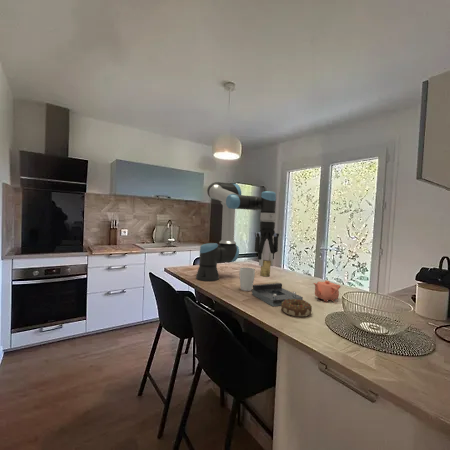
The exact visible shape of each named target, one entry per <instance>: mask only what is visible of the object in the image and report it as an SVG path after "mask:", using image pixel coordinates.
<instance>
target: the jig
mask: <svg viewBox="0 0 450 450" xmlns="http://www.w3.org/2000/svg"><path fill="white" fill-rule="evenodd" d="M251 295H252V296H253V297H255V298H257V299H259V300H261V301H262V302H264V303H266V304H268V305H269V306H271V307H273V308H274V307H281V304H282V302H283V301H285V300H288V299H297V300H304V297H303V296H301V295H299V294H297V292H296V291H290V290H288V289H285V288H283V283H281V282H275V283H264V284H253V287H252V290H251Z"/></svg>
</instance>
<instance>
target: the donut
mask: <svg viewBox="0 0 450 450" xmlns="http://www.w3.org/2000/svg"><path fill="white" fill-rule="evenodd" d="M280 307H281V310H282V312H284V314H287V315H290V316H291V317H292V316H293V317H300V318H301V317H304V318H305V317H307V316H309V315H311V313H312V312H313V311H312V305H311V303H310V302H308V301H306V300H304V299H303V300H297V299H288V300H285V301H283V302H282V304H281V306H280Z"/></svg>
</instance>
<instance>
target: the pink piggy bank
mask: <svg viewBox="0 0 450 450" xmlns="http://www.w3.org/2000/svg"><path fill="white" fill-rule="evenodd" d="M312 284H314V287H315V288H314V295H315V297H317V299H318V300H323V302H324V303H328V302H329V300H331V301H332V302H336V300H338V299H339V297H340V292H339V290H340V289H341V285H340V284H336V283H333V282H331V281H330V280H325V281H317V283H316V282H313V283H312Z"/></svg>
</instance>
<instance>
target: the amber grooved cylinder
mask: <svg viewBox="0 0 450 450" xmlns="http://www.w3.org/2000/svg"><path fill="white" fill-rule="evenodd" d="M271 267H272V266H271V261H269V259H263V266H260V273H259V276H260V277H263V278H264V277H265V278H270V276H271Z"/></svg>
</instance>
